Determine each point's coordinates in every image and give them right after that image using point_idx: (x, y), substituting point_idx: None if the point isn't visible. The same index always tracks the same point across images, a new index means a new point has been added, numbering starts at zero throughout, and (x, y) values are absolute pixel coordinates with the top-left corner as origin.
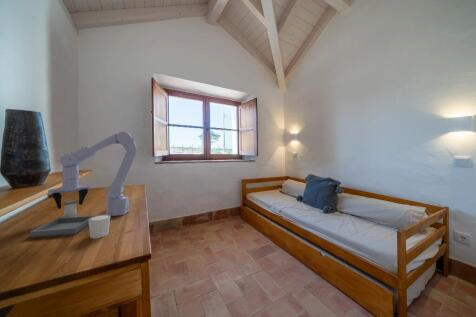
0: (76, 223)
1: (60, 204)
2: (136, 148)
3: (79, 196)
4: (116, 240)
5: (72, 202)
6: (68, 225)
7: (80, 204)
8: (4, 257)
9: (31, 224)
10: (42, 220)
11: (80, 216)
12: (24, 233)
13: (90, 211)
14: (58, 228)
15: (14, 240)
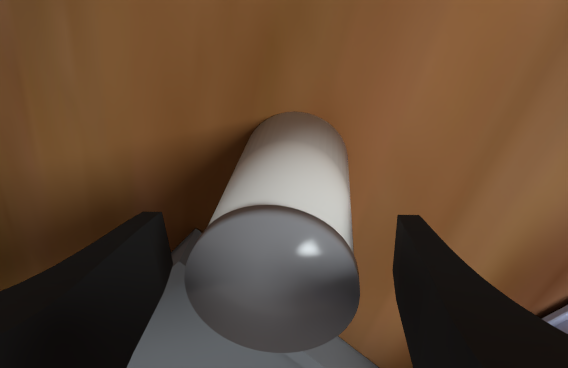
0: (278, 366)
1: (143, 320)
2: None
3: (434, 315)
4: None
5: (280, 343)
6: (232, 362)
7: (393, 273)
8: None
9: (17, 81)
10: (83, 15)
11: (315, 363)
12: (23, 265)
13: (535, 81)
14: (179, 364)
15: None
